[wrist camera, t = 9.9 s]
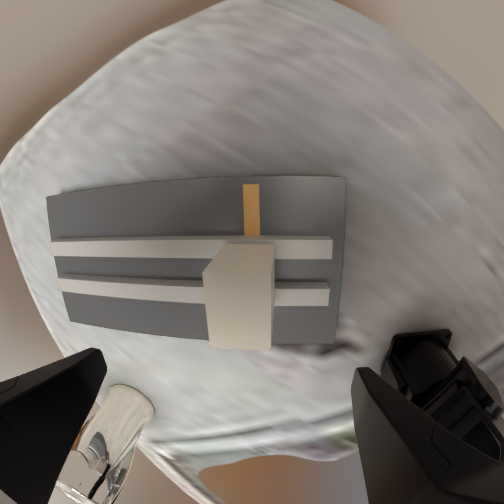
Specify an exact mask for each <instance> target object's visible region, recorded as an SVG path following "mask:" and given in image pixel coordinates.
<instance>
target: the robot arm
mask: <svg viewBox="0 0 504 504" xmlns="http://www.w3.org/2000/svg"><path fill="white" fill-rule="evenodd" d="M447 334H448V335H447ZM446 335H447V336H446ZM451 336H452V332H451V331H450V330H449V329H446V330H438V331H430V332H421V333H411V334H400V335H396V336H394V338H393V339H392V343H391V347H390V351H389V354H388V357H387V358H386V359H385V363H384V366H383V370H382V373H381V377H380V376H379V375H378V374H377V373H375V372H374V371H373V370H372V369H370V368H369V367H358V368H356V370H355V373H354V377H353V381H352V385H351V397H352V406H353V417H354V427H355V434H356V439H357V443H358V448H359V453H360V458H361V463H362V468H363V473H364V479H365V484H366V489H367V496H368V501H369V504H504V419H503V418H502V416H501V414H502V413H503V412H504V404H503V402H502V399H501V396H500V394H499V391H498V389H497V388H496V386H495V385H494V384H493V383H492V381H491V380H490V379H489V378H488V376H487V375H486V374H485V373H484V372H483V371H482V370H480V369H479V368H478V367H477V366H476V365H474V364H473V363H472V362H471V361H469V360H468V359H467V358H466V357H464V356H463V358H462V359H461V360H460V361H458V360H457V359H456V357H455V356H454V355H453V353H452V352H451V351H450V349H449V348H448V345H449V342H450V339H451ZM399 339H400V340H399ZM397 340H399V341H398V342H396V341H397ZM459 362H460V363H459ZM106 372H107V365H106V362H105V360H104V357H103V354H102V351H101V350H100V349H96V348H88V349H86V350H84V351H81V352H79V353H76V354H74V355H71V356H69V357H66V358H64V359H61V360H58V361H56V362H53V363H51V364H48V365H46V366H43V367H40V368H38V369H36V370H33V371H30V372H27V373H25V374H22V375H20V376H17V377H14V378H12V379H9V380H6V381H3V382H0V504H48V502H49V499H50V497H51V494H52V491H53V489H54V487H55V485H56V482H57V479H58V477H59V475H60V473H61V470H62V468H63V466H64V464H65V461H66V459H67V457H68V455H69V453H70V451H71V449H72V446H73V444H74V442H75V440H76V438H77V436H78V434H79V432H80V430H81V428H82V426H83V424H84V422H85V420H86V418H87V416H88V414H89V412H90V410H91V408H92V406H93V404H94V402H95V400H96V397H97V395H98V392H99V390H100V387H101V385H102V382H103V380H104V377H105V375H106Z"/></svg>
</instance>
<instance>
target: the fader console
mask: <svg viewBox="0 0 504 504" xmlns="http://www.w3.org/2000/svg"><path fill="white" fill-rule="evenodd" d="M46 201H47V211H48V220H49V227H50V234H51V242H49V244H50V250H51V255H52V256H54V258H55V263H56V268H57V273H58V277H57V278H56V279H57V283H58V288H59V291H62V294H63V298H64V302H65V305H66V309H67V312H68V316H69V319H70V321H71V322H76V323H82V324H87V325H92V326H98V327H104V328H110V329H116V330H122V331H129V332H136V333H143V334H151V335H159V336H168V337H178V338H188V339H199V340H209V334H208V325H207V316H206V307H205V296H204V286H203V275H202V272H203V271H204V270H205V268H206V267H207V266H208V265H209V263H210V262H211V261H212V260H213V258H214V257H215V256H216V254H217V253H218V252H219V251H220V249H221V248H222V247H223V246H224V244H275V302H274V318H273V330H272V342H271V343H285V344H311V343H334V341H335V333H336V326H337V318H338V309H339V300H340V290H341V279H342V267H343V253H344V235H345V210H346V177H333V176H237V177H213V178H196V179H181V180H168V181H157V182H146V183H137V184H128V185H119V186H111V187H104V188H96V189H89V190H83V191H76V192H70V193H64V194H58V195H53V196H48V197H46Z"/></svg>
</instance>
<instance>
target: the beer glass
mask: <svg viewBox="0 0 504 504" xmlns="http://www.w3.org/2000/svg"><path fill="white" fill-rule="evenodd" d="M153 416H154V408H153V406H152V404H151V403H150V401H149V400H148V399H147V398H146V397H145V396H144V395H143V394H141V393H140V392H139V391H137V390H135V389H134V388H131V387H129V386H126V385H121V384H117V385H113V386H112V387H111V388H110V389H109V391H108V393H107V396H106V398H105V400H104V402H103V404H102V406H101V408H100V409H99V410H98V411H97V413H96V414H95V415H94V416H92V417H91V418H90V419H89V420H88V421H87V422H86V423H85V424H83V426H82V428H81V430H80V432H79V434H78V436H77V438H76V440H75V442H74V444H73V446H72V449H71V451H70V453H69V455H68V457H67V459H66V461H65V464H64V466H63V468H62V470H61V473H60V475H59V477H58V479H57V482H56V485H55V487H57V488H58V489H59V490H60V491H62V492H63V493H64V494H66V495H67V496H68V497H70V498H71V499H73V500H74V501H76V502H78V503H79V504H113V503H114V502H115V500H116V499H117V497H118V495H119V494H120V492H121V490H122V488H123V486H124V484H125V482H126V479H127V477H128V474H129V471H130V467H131V463H132V459H133V456H134V452H135V448H136V444H137V441H138V438H139V436H140V434H141V432H142V430H143V429H144V428H145V426H146V425H147V424H148V423H149V422H150V421H151V419H152V418H153Z"/></svg>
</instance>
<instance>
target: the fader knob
mask: <svg viewBox="0 0 504 504" xmlns="http://www.w3.org/2000/svg"><path fill="white" fill-rule="evenodd" d="M202 275H203V286H204V296H205V307H206V316H207V325H208V334H209V343H210V348H222V349H239V350H263V351H271V342H272V330H273V318H274V302H275V244H224V246H223V247H222V248H221V249H220V251H219V252H218V253H217V254H216V256H215V257H214V258H213V260H212V261H211V262H210V263H209V265H208V266H207V267H206V268H205V270H204V271H203V272H202Z"/></svg>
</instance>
